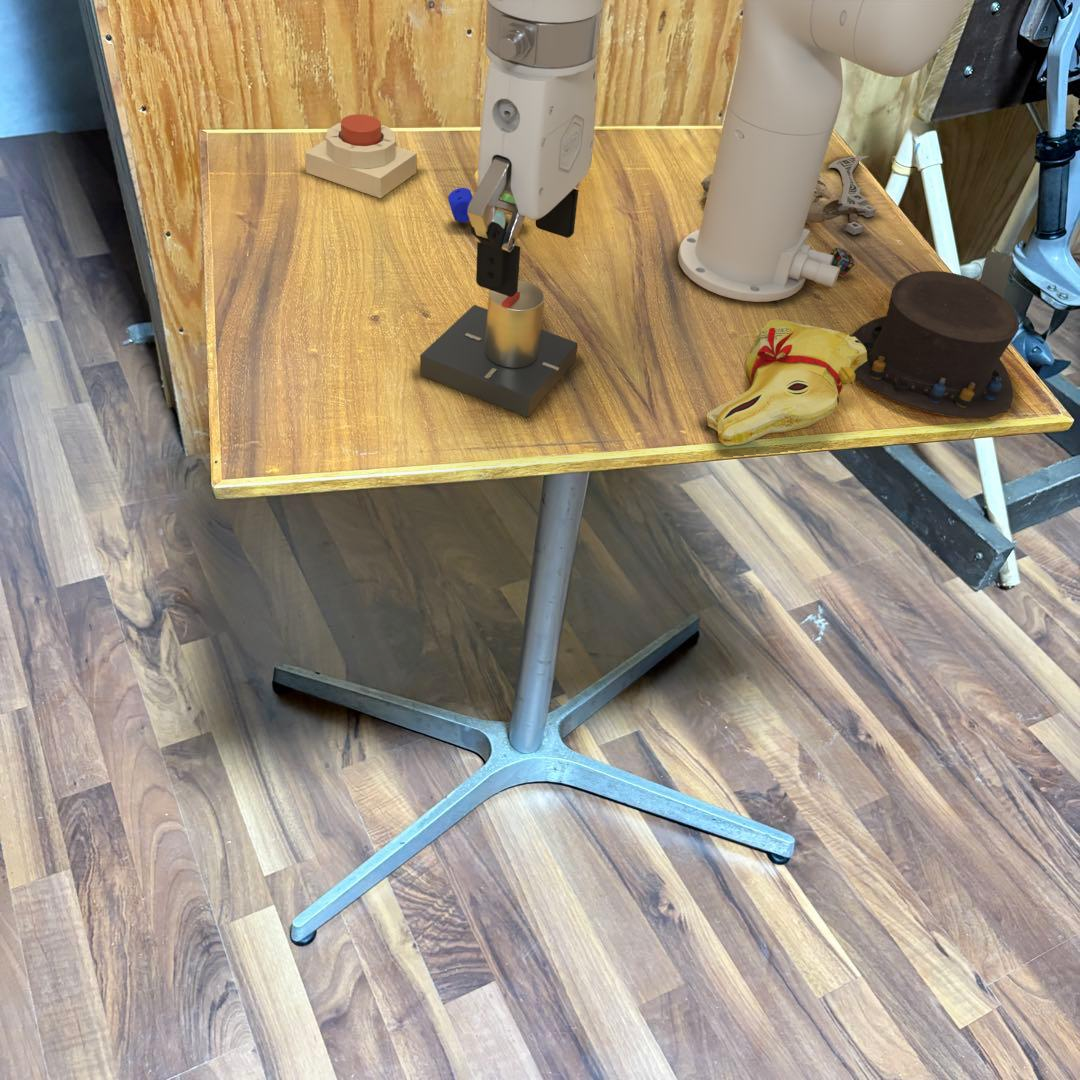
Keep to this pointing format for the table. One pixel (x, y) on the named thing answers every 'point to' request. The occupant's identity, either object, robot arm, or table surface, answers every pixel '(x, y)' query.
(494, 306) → the temp dial
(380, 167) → the button base
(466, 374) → the dial panel
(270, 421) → the table surface
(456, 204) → the dice
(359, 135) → the red push button
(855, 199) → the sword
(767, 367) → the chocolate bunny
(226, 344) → the table surface
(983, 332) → the top hat
